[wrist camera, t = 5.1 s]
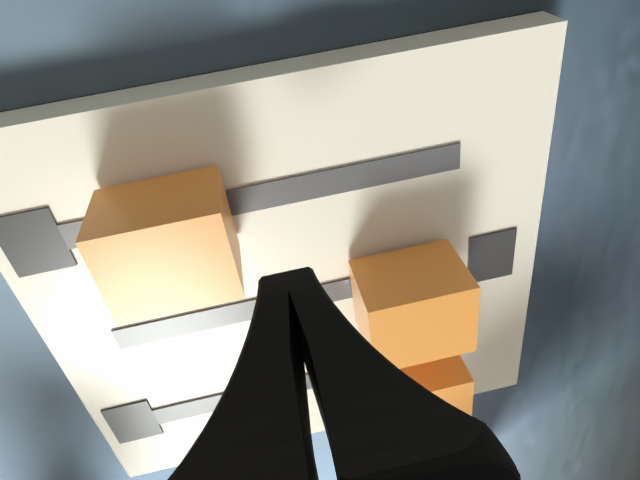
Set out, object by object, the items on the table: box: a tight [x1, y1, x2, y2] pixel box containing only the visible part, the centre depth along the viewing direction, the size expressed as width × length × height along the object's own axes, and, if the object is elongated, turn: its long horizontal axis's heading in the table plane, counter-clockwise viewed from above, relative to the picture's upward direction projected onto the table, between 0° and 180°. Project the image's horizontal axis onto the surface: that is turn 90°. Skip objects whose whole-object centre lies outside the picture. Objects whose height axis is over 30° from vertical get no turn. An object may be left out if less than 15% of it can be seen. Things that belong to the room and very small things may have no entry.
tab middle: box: [348, 239, 480, 369], centre depth 20 cm, size 4×3×3 cm
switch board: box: [0, 11, 567, 477], centre depth 22 cm, size 20×18×2 cm
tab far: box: [400, 355, 474, 416], centre depth 23 cm, size 4×3×3 cm
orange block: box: [75, 165, 245, 326], centre depth 17 cm, size 4×3×3 cm
